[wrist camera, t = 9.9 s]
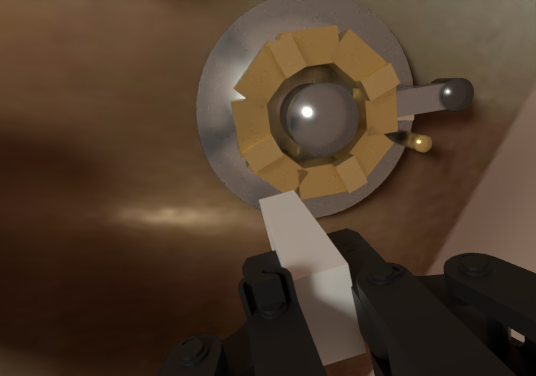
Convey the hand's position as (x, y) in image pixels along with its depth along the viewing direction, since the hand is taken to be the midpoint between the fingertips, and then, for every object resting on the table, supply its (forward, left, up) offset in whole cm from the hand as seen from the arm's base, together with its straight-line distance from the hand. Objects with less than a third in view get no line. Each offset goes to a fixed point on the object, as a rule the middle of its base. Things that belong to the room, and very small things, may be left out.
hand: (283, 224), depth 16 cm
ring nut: (+11, +1, -22) cm, 25 cm away
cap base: (+7, +1, -24) cm, 25 cm away
